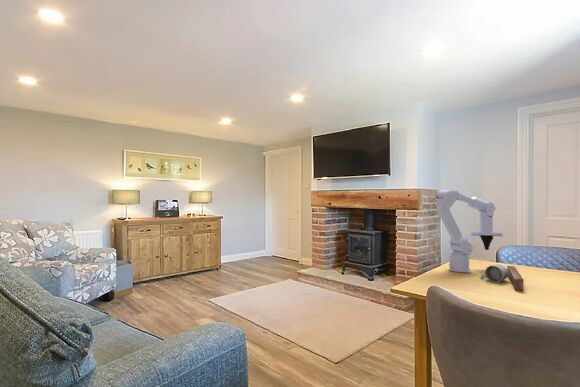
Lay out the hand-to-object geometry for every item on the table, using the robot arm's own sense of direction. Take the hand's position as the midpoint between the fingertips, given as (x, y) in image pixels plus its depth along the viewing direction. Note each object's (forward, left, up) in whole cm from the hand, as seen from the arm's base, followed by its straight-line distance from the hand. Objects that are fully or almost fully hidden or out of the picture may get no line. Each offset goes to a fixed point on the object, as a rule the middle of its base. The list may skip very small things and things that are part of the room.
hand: (486, 249), depth 174 cm
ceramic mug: (+1, -24, -11) cm, 26 cm away
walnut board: (+9, -25, -10) cm, 29 cm away
